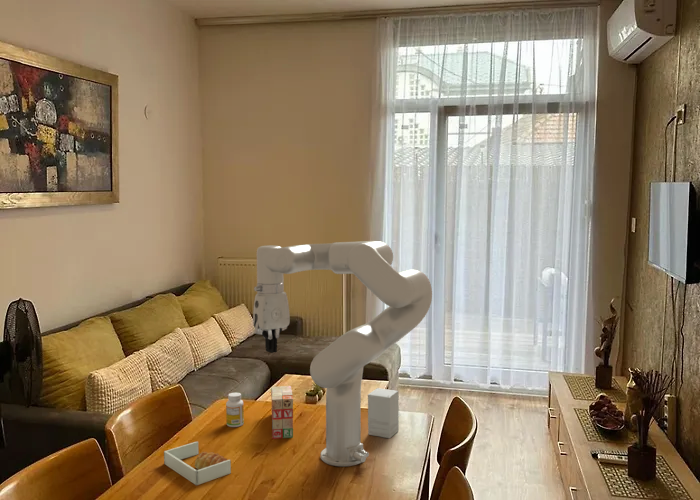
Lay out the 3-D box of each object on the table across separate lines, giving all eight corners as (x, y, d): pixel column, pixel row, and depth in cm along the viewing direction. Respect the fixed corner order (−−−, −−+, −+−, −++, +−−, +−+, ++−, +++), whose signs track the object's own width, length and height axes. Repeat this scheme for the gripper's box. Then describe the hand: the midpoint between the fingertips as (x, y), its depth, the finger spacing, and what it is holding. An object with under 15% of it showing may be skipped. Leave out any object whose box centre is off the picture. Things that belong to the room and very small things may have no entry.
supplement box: (399, 430, 193) (399, 390, 192) (389, 439, 187) (389, 397, 186) (377, 426, 197) (377, 387, 196) (367, 434, 190) (367, 393, 189)
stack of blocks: (271, 414, 208) (270, 377, 207) (290, 413, 209) (290, 377, 208) (272, 439, 187) (271, 398, 186) (293, 438, 188) (293, 398, 187)
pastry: (236, 466, 169) (235, 453, 168) (221, 477, 162) (220, 463, 162) (207, 461, 172) (206, 447, 172) (191, 471, 166) (191, 457, 166)
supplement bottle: (235, 420, 203) (234, 390, 202) (247, 423, 200) (246, 393, 199) (222, 425, 198) (222, 394, 198) (234, 428, 195) (234, 398, 194)
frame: (230, 473, 164) (230, 460, 164) (196, 485, 157) (196, 471, 157) (197, 453, 177) (197, 441, 176) (164, 463, 170) (163, 451, 170)
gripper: (256, 293, 172) (257, 358, 174) (299, 287, 183) (299, 349, 184) (241, 290, 178) (242, 353, 180) (283, 284, 188) (284, 345, 190)
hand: (271, 351), depth 182 cm, fingers closed
